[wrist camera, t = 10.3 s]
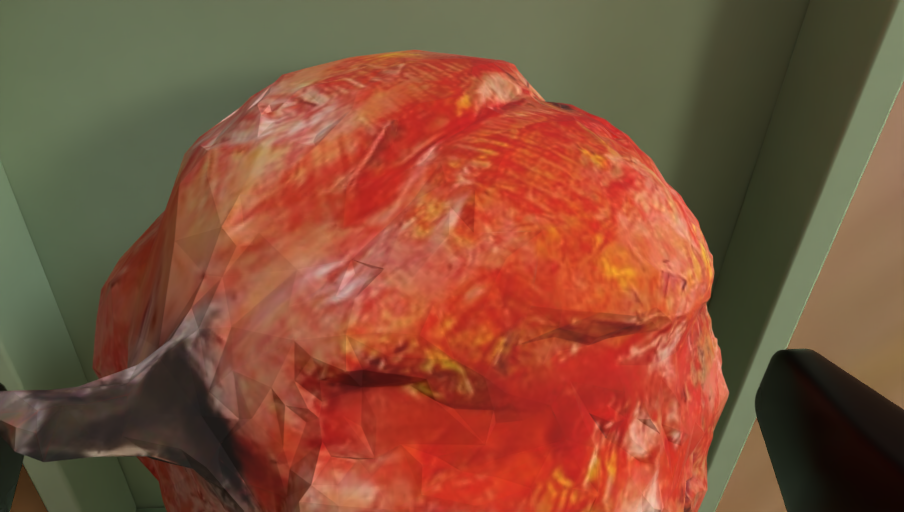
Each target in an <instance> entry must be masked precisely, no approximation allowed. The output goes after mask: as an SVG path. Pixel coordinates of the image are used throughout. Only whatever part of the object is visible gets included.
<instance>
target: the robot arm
mask: <svg viewBox="0 0 904 512" xmlns="http://www.w3.org/2000/svg"><path fill="white" fill-rule="evenodd" d="M0 391H7V389H6V387H5V386H4V385H3V384H2V383H0ZM755 412H756V416H757V419H758V422H759V425H760V428H761V431H762V435H763V438H764V441H765V444H766V447H767V450H768V453H769V456H770V459H771V463H772V466H773V469H774V472H775V475H776V478H777V481H778V484H779V487H780V491H781V494H782V497H783V500H784V503H785V506H786V509H787V512H904V410H903V409H902V408H900V407H899V406H897V405H896V404H894V403H893V402H891V401H890V400H888V399H887V398H885V397H884V396H882V395H880V394H879V393H877V392H876V391H874V390H873V389H871V388H870V387H868V386H867V385H865V384H864V383H862V382H861V381H859V380H858V379H856V378H855V377H853V376H852V375H850V374H849V373H847V372H846V371H844V370H843V369H841V368H840V367H838V366H837V365H835V364H834V363H832V362H831V361H829V360H828V359H826V358H825V357H823V356H822V355H820V354H819V353H817V352H815V351H813V350H810V349H785V350H779V351H777V352H776V353H775V354H774V355H773V356H772V357H771V359H770V362H769V364H768V367H767V369H766V371H765V374H764V376H763V378H762V381H761V383H760V385H759V388H758V390H757V392H756V396H755ZM24 456H25V455H23V454H20V453H17V452H15V451H14V450H13V449H12V448H11V447H10V446H9V445H8V443H7V442H6V441H5V440H4V439H3V438H2V437H1V436H0V512H10V509H11V505H12V501H13V498H14V494H15V490H16V486H17V482H18V479H19V475H20V471H21V467H22V463H23V460H24Z"/></svg>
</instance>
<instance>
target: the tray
mask: <svg viewBox="0 0 904 512" xmlns="http://www.w3.org/2000/svg"><path fill="white" fill-rule="evenodd" d="M406 50H422V51H429V52H437V53H447V54H457V55H464V56H471V57H479V58H487V59H495V60H504V61H506V62H509V63H512V64H514V65H515V66H516V68H517V69H518V71H519V72H520V73H521V74H522V75H523V77H524V78H525V79H526V80H527V81H528V82H529V84H530V85H531V86H532V87H533V88H534V89H535V90H536V91H537V92H538V93H539V94H540V96H541V97H542V98H543V99H544V100H545V101H547V102H556V103H565V104H572V105H574V106H576V107H578V108H580V109H582V110H584V111H586V112H588V113H590V114H593V115H595V116H598V117H601V118H603V119H606V120H607V121H608V122H609V123H611V124H612V125H613V126H614V127H616V128H617V129H619V130H620V131H622V132H624V133H625V134H627V135H628V136H629V137H630V138H631V139H632V140H633V142H634V143H635V144H636V145H637V146H638V147H639V148H640V149H641V150H642V151H643V152H644V153H645V154H646V155H648V156H649V157H650V158H651V159H652V160H653V162H654V163H655V165H656V167H657V168H658V170H659V171H660V173H661V175H662V176H663V178H664V180H665V181H666V182H667V183H668V184H669V185H670V186H671V187H672V188H673V189H674V190H675V191H677V192H678V193H679V194H680V195H681V197H682V199H683V200H684V202H685V204H686V205H687V207H688V209H690V211H691V212H692V213H693V215H694V216H695V217H696V219H697V220H698V222H699V226H700V229H701V231H702V234H703V236H704V237H705V240H706V242H707V245H708V248H709V251H710V253H711V254H712V255H713V269H714V279H713V284H712V287H711V298H710V299H709V300H708V302H707V303H706V304H707V311H708V313H709V316H710V318H711V323H712V331H713V334H714V337H715V338H717V344H718V346H719V348H720V351H721V358H722V366H721V370H722V374H723V377H724V380H725V382H726V385H727V388H728V391H729V396H728V399H727V401H726V404H725V406H724V408H723V411H722V413H721V415H720V418H719V420H718V422H717V424H716V427H715V429H714V431H713V439H712V442H711V444H710V447H709V449H708V454H707V488H708V490H707V492H706V494H705V496H704V499H703V501H702V503H701V506H700V508H699V510H698V512H715V511H716V508H717V506H718V504H719V501H720V499H721V497H722V495H723V492H724V490H725V488H726V485H727V483H728V481H729V479H730V476H731V474H732V472H733V469H734V467H735V465H736V463H737V460H738V458H739V456H740V453H741V451H742V449H743V447H744V444H745V442H746V440H747V437H748V435H749V433H750V431H751V428H752V426H753V424H754V421H755V419H756V417H757V416H756V412H755V396H756V392H757V390H758V388H759V385H760V383H761V381H762V378H763V376H764V374H765V371H766V369H767V367H768V364H769V362H770V359H771V357H772V356H773V355H774V354H775V353H776V352H777V351H779V350H785V349H786V348H787V346H788V344H789V342H790V339H791V337H792V335H793V332H794V330H795V328H796V326H797V323H798V321H799V319H800V316H801V314H802V312H803V310H804V307H805V305H806V303H807V300H808V298H809V296H810V294H811V291H812V289H813V287H814V284H815V282H816V280H817V278H818V275H819V273H820V271H821V268H822V266H823V264H824V262H825V259H826V257H827V255H828V252H829V250H830V248H831V246H832V243H833V241H834V239H835V236H836V234H837V232H838V230H839V227H840V225H841V223H842V220H843V218H844V216H845V214H846V211H847V209H848V207H849V204H850V202H851V200H852V198H853V195H854V193H855V191H856V188H857V186H858V184H859V182H860V179H861V177H862V175H863V172H864V170H865V168H866V166H867V163H868V161H869V159H870V156H871V154H872V152H873V150H874V147H875V145H876V143H877V140H878V138H879V136H880V134H881V131H882V129H883V127H884V124H885V122H886V120H887V118H888V115H889V113H890V111H891V108H892V106H893V104H894V102H895V99H896V97H897V95H898V92H899V90H900V88H901V86H902V83H903V81H904V0H0V383H2V384H3V385H4V386H5V387H6V389H7V391H13V390H53V389H62V388H71V387H79V386H81V385H84V384H87V383H90V382H92V381H95V380H98V379H99V378H98V377H97V375H96V373H95V372H94V370H93V368H92V366H93V354H94V342H95V329H96V319H97V313H98V307H99V300H100V294H101V289H102V287H103V286H104V284H105V282H106V281H107V279H108V277H109V276H110V274H111V272H112V271H113V269H114V267H115V266H116V264H117V262H118V261H119V259H120V258H121V257H122V256H123V255H124V253H125V252H126V251H127V250H128V249H129V248H130V247H131V246H132V245H133V244H134V243H135V242H136V241H137V240H138V239H139V238H140V236H141V235H142V234H143V233H144V232H145V231H146V230H147V229H148V228H149V227H150V226H151V225H152V224H153V222H154V221H155V220H156V219H157V218H158V217H159V216H160V215H161V214H162V213H163V212H164V211H165V209H166V206H167V203H168V201H169V198H170V195H171V192H172V189H173V186H174V183H175V180H176V177H177V175H178V172H179V169H180V166H181V163H182V160H183V157H184V154H185V153H186V152H187V150H188V149H189V148H190V147H191V146H192V145H193V144H194V142H195V141H196V140H197V139H198V138H199V137H200V136H202V135H203V134H204V133H206V132H207V131H208V130H210V129H211V128H212V127H214V126H215V125H217V124H218V123H219V122H221V121H222V120H223V119H225V118H226V117H227V116H229V115H230V114H232V113H233V112H234V111H236V110H237V109H238V108H240V107H241V106H242V105H243V104H244V103H245V102H246V101H247V100H248V99H249V98H250V97H251V96H253V95H254V94H256V93H257V92H259V91H261V90H262V89H264V88H266V87H267V86H269V85H271V84H272V83H274V82H275V81H276V80H277V79H278V78H279V77H280V76H281V75H283V74H287V73H290V72H294V71H297V70H301V69H305V68H309V67H313V66H317V65H321V64H325V63H329V62H333V61H337V60H341V59H345V58H349V57H356V56H363V55H371V54H379V53H387V52H396V51H406ZM23 465H24V467H25V469H26V471H27V472H28V474H29V476H30V478H31V480H32V482H33V484H34V486H35V488H36V490H37V492H38V493H39V495H40V497H41V499H42V501H43V503H44V505H45V507H46V509H47V511H48V512H167V511H166V508H165V505H164V503H163V499H162V495H161V490H160V485H159V481H158V480H157V479H156V478H155V477H154V476H153V475H152V473H151V472H150V471H149V470H148V469H147V468H146V467H145V466H144V465H143V463H142V462H141V461H140V460H139V459H138V458H137V457H106V456H99V457H90V458H80V459H71V460H61V461H52V462H41V461H39V460H36V459H33V458H31V457H28V456H24V460H23Z"/></svg>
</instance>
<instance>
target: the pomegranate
mask: <svg viewBox="0 0 904 512" xmlns="http://www.w3.org/2000/svg"><path fill="white" fill-rule="evenodd" d="M713 279H714V269H713V255H712V254H711V253H710V251H709V248H708V245H707V242H706V240H705V237H704V236H703V234H702V231H701V229H700V226H699V222H698V220H697V219H696V217H695V216H694V215H693V213H692V212H691V211H690V209H688V207H687V205H686V204H685V202H684V200H683V199H682V197H681V195H680V194H679V193H678V192H677V191H675V190H674V189H673V188H672V187H671V186H670V185H669V184H668V183H667V182H666V181H665V180H664V178H663V176H662V175H661V173H660V171H659V170H658V168H657V167H656V165H655V163H654V162H653V160H652V159H651V158H650V157H649V156H648V155H646V154H645V153H644V152H643V151H642V150H641V149H640V148H639V147H638V146H637V145H636V144H635V143H634V142H633V140H632V139H631V138H630V137H629V136H628V135H627V134H625V133H624V132H622V131H620V130H619V129H617V128H616V127H614V126H613V125H612V124H611V123H609V122H608V121H607V120H606V119H603V118H601V117H598V116H595V115H593V114H590V113H588V112H586V111H584V110H582V109H580V108H578V107H576V106H574V105H572V104H565V103H556V102H547V101H545V100H544V99H543V98H542V97H541V96H540V94H539V93H538V92H537V91H536V90H535V89H534V88H533V87H532V86H531V85H530V84H529V82H528V81H527V80H526V79H525V78H524V77H523V75H522V74H521V73H520V72H519V71H518V69H517V68H516V66H515V65H514V64H512V63H509V62H506V61H504V60H495V59H487V58H479V57H471V56H464V55H457V54H447V53H437V52H429V51H422V50H406V51H396V52H387V53H379V54H371V55H363V56H356V57H349V58H345V59H341V60H337V61H333V62H329V63H325V64H321V65H317V66H313V67H309V68H305V69H301V70H297V71H294V72H290V73H287V74H283V75H281V76H280V77H279V78H278V79H277V80H276V81H275V82H274V83H272V84H271V85H269V86H267V87H266V88H264V89H262V90H261V91H259V92H257V93H256V94H254V95H253V96H251V97H250V98H249V99H248V100H247V101H246V102H245V103H244V104H243V105H242V106H241V107H240V108H238V109H237V110H236V111H234V112H233V113H232V114H230V115H229V116H227V117H226V118H225V119H223V120H222V121H221V122H219V123H218V124H217V125H215V126H214V127H212V128H211V129H210V130H208V131H207V132H206V133H204V134H203V135H202V136H200V137H199V138H198V139H197V140H196V141H195V142H194V144H193V145H192V146H191V147H190V148H189V149H188V150H187V152H186V153H185V154H184V157H183V160H182V163H181V166H180V169H179V172H178V175H177V177H176V180H175V183H174V186H173V189H172V192H171V195H170V198H169V201H168V203H167V206H166V209H165V211H164V212H163V213H162V214H161V215H160V216H159V217H158V218H157V219H156V220H155V221H154V222H153V224H152V225H151V226H150V227H149V228H148V229H147V230H146V231H145V232H144V233H143V234H142V235H141V236H140V238H139V239H138V240H137V241H136V242H135V243H134V244H133V245H132V246H131V247H130V248H129V249H128V250H127V251H126V252H125V253H124V255H123V256H122V257H121V258H120V259H119V261H118V262H117V264H116V266H115V267H114V269H113V271H112V272H111V274H110V276H109V277H108V279H107V281H106V282H105V284H104V286H103V287H102V289H101V294H100V300H99V307H98V313H97V319H96V329H95V342H94V354H93V366H92V368H93V370H94V372H95V373H96V375H97V377H98V378H99V379H98V380H95V381H92V382H90V383H87V384H84V385H81V386H79V387H71V388H62V389H53V390H13V391H0V436H1V437H2V438H3V439H4V440H5V441H6V442H7V443H8V445H9V446H10V447H11V448H12V449H13V450H14V451H15V452H17V453H20V454H23V455H25V456H28V457H31V458H33V459H36V460H39V461H41V462H52V461H61V460H71V459H80V458H90V457H99V456H106V457H137V458H138V459H139V460H140V461H141V462H142V463H143V465H144V466H145V467H146V468H147V469H148V470H149V471H150V472H151V473H152V475H153V476H154V477H155V478H156V479H157V480H158V481H159V485H160V490H161V495H162V499H163V503H164V505H165V508H166V511H167V512H698V510H699V508H700V506H701V503H702V501H703V499H704V496H705V494H706V492H707V490H708V488H707V454H708V449H709V447H710V444H711V442H712V439H713V431H714V429H715V427H716V424H717V422H718V420H719V418H720V415H721V413H722V411H723V408H724V406H725V404H726V401H727V399H728V396H729V391H728V388H727V385H726V382H725V380H724V377H723V374H722V370H721V366H722V358H721V351H720V348H719V346H718V344H717V338H715V337H714V334H713V331H712V323H711V318H710V316H709V313H708V311H707V304H706V303H707V302H708V300H709V299H710V298H711V287H712V284H713Z"/></svg>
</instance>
